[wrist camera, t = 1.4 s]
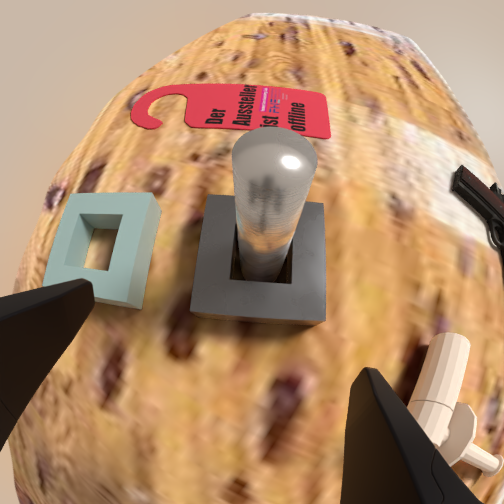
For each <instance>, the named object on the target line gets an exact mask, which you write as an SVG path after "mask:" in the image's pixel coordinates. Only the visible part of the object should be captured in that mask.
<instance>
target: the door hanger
mask: <svg viewBox="0 0 504 504" xmlns="http://www.w3.org/2000/svg"><path fill="white" fill-rule="evenodd" d="M172 94H180V95H184V96H185V97H187V98H188V102H187V108H186V115H185V122H186V123H187V124H188V125H189V126H190V127H192V128H216V129H238V130H254V129H257V128H261V127H281V128H286V129H289V130H292V131H294V132H296V133H298V134H300V135H301V136H307V137H314V138H321V139H329V138H330V137H331V132H330V123H329V116H328V108H327V101H326V97H325V95H323V94H321V93H318V92H312V91H305V90H298V89H291V88H282V87H272V86H261V85H245V84H180V85H169V86H164V87H161V88H158V89H155V90H152V91H150V92H148V93H146V94H145V95H144V96H142V97H141V98H140V99H139V100H138V101H137V102H136V104H135V105H134V106H133V109H132V111H131V119H132V121H133V122H134V123H135V124H137V125H138V126H140V127H143V128H146V129H156V128H158V127H159V126H160V125H161V124H162V121H160V120H158V119H155V118H153V117H151V116H149V115H148V108H149V107H150V105H151V103H152V102H154V101H155V100H156V99H159V98H161V97H163V96H166V95H172Z"/></svg>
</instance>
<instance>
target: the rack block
mask: <svg viewBox="0 0 504 504" xmlns="http://www.w3.org/2000/svg"><path fill="white" fill-rule="evenodd" d="M161 212H162V210H161V209H160V207H159V205H158V203H157V201H156V199H155V197H154V195H153V194H152V193H79V194H70V197H69V199H68V202H67V205H66V207H65V210H64V213H63V215H62V218H61V221H60V224H59V227H58V230H57V233H56V236H55V239H54V242H53V246H52V249H51V253H50V256H49V260H48V264H47V268H46V272H45V276H44V280H43V285H42V286H44V287H45V286H49V285H54V284H58V283H62V282H66V281H71V280H75V279H79V278H84V279H86V280H89V281H91V282H92V284H93V290H94V298H95V302H100V303H105V304H111V305H116V306H122V307H128V308H134V309H140V310H142V305H143V299H144V293H145V287H146V281H147V276H148V271H149V265H150V260H151V256H152V251H153V246H154V242H155V237H156V233H157V228H158V224H159V220H160V216H161ZM94 228H99V229H118V234H117V237H116V241H115V245H114V249H113V253H112V257H111V261H110V266H109V270H108V271H103V270H96V269H88V268H83V267H84V263H85V259H86V255H87V251H88V248H89V244H90V241H91V237H92V234H93V230H94Z"/></svg>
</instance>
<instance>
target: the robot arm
mask: <svg viewBox="0 0 504 504" xmlns="http://www.w3.org/2000/svg"><path fill="white" fill-rule="evenodd" d="M94 305H95V298H94V290H93V284H92V282H91V281H89V280H86V279H84V278H79V279H75V280H71V281H66V282H62V283H58V284H54V285H49V286H45V287H41V288H37V289H33V290H29V291H24V292H20V293H16V294H12V295H8V296H4V297H0V451H1V450H2V448H3V446H4V444H5V442H6V440H7V439H8V437H9V435H10V433H11V431H12V430H13V428H14V426H15V425H16V423H17V421H18V419H19V418H20V416H21V414H22V413H23V411H24V409H25V408H26V406H27V405H28V403H29V402H30V400H31V398H32V397H33V395H34V394H35V392H36V391H37V389H38V388H39V386H40V385H41V383H42V382H43V381H44V379H45V378H46V376H47V375H48V373H49V372H50V370H51V369H52V368H53V366H54V365H55V363H56V362H57V361H58V359H59V358H60V357H61V355H62V354H63V353H64V351H65V350H66V349H67V347H68V346H69V345H70V343H71V342H72V340H73V339H74V338H75V336H76V334H77V333H78V331H79V330H80V328H81V326H82V325H83V323H84V322H85V320H86V319H87V317H88V315H89V314H90V312H91V311H92V309H93V308H94ZM340 504H484V503H482V502H481V501H479V500H478V499H477V498H476V496H475V495H474V494H473V493H472V492H471V491H470V490H469V488H468V487H467V486H466V485H465V484H464V483H463V481H462V480H461V479H460V478H459V477H458V476H457V474H456V473H455V472H454V471H453V470H452V468H451V467H450V466H449V464H448V463H447V462H446V460H445V459H444V458H443V456H442V455H441V454H440V452H439V451H438V449H435V445H434V444H433V443H432V441H431V440H430V439H429V437H428V436H427V434H426V433H425V432H424V430H423V429H422V428H421V426H420V425H419V424H418V422H417V421H416V419H415V418H414V417H413V415H412V414H411V413H410V411H409V410H408V409H407V407H406V406H405V405H404V403H403V402H402V401H401V399H400V398H399V397H398V396H397V394H396V393H395V392H394V390H393V389H392V388H391V386H390V385H389V384H388V382H387V381H386V380H385V379H384V377H383V376H382V375H381V373H380V372H379V371H378V370H377V369H375V368H370V367H365V368H363V369H362V370H361V372H360V373H359V375H358V376H357V378H356V379H355V381H354V382H353V384H352V386H351V389H350V397H349V406H348V414H347V421H346V429H345V446H344V465H343V478H342V490H341V499H340Z"/></svg>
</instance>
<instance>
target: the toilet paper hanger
mask: <svg viewBox="0 0 504 504" xmlns="http://www.w3.org/2000/svg"><path fill="white" fill-rule="evenodd" d="M469 350H470V343H469V341H468V339H467V338H465V337H464V336H462V335H460V334H456V333H448V332H446V333H441V334H438V335H436V336H434V337H433V338H432V340H431V341H430V344H429V348H428V351H427V354H426V358H425V361H424V364H423V367H422V370H421V373H420V375H419V378H418V381H417V384H416V386H415V389H414V391H413V394H412V396H411V399H410V401H409V404H408V406H407V409H408V410H409V411H410V413H411V414H412V415H413V417H414V418H415V419H416V421H417V422H418V424H419V425H420V426H421V428H422V429H423V430H424V432H425V433H426V434H427V436H428V437H429V439H430V440H431V441H432V443H433V444H434V445H435V449H438V451H439V452H440V454H441V455H442V456H443V458H444V459H445V460H446V462H447V463H448V464H449V466H450V467H451V466H452V465H454V464H455V463H456V462H458V461H459V460H462V461H464V462H466V463H468V464H470V465H473V466H475V467H477V468H479V469H481V470H482V472H483V475H484V476H487V477H491V476H494V475H495V474H497V473H498V472H499V471H500V469H501V468H502V466H503V461H504V459H503V457H502V456H501V455H497V454H496V455H493V456H492V455H491V454H489V453H487V452H486V451H484V450H483V449H481V448H479V447H478V446H476V445H475V444H473V443H472V442H473V440H474V438H475V433H476V424H477V417H476V416H475V414H474V412H473V411H472V409H471V407H470V406H469V405H468V404H465V403H460V402H457V398H458V395H459V392H460V388H461V385H462V381H463V377H464V373H465V369H466V365H467V360H468V355H469Z"/></svg>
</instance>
